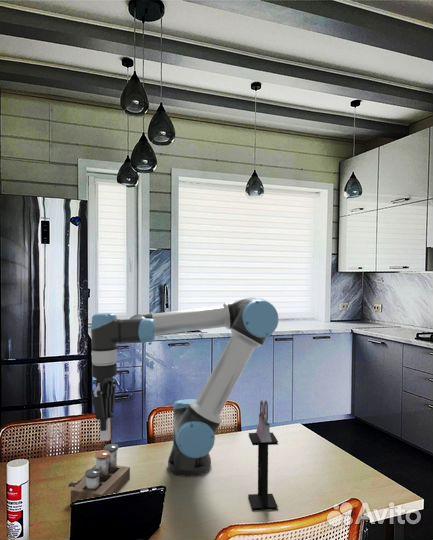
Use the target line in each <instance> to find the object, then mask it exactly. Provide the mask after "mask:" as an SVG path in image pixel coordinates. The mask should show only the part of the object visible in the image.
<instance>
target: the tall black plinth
mask: <svg viewBox="0 0 433 540" xmlns="http://www.w3.org/2000/svg"><path fill="white" fill-rule="evenodd" d="M268 420H269V404H268V401H267V400H260V402H259V413H258V423H257V427H256V432H248V438H249V440H250V442H251V445H252V446H257V493H252V494H251V493H250V494H249V493H248V494H247V496H248V497H247V498H248V501H249V505H250V508H251V510H252V512H253V511H278V510H279V509H278V508H279V506H278V503H277V502H276V499H275V497H274V495H273V493H269V446H272V445H273V446H276V445H277V446H278V445H279V441H278V439H277V437H276V436H275V434H274V432H271V431H270V429H271V428H270V426H271V425H270V423H269V422H268Z"/></svg>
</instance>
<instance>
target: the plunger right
mask: <svg viewBox="0 0 433 540" xmlns="http://www.w3.org/2000/svg"><path fill="white" fill-rule="evenodd" d="M118 450H119V445H118V444H116V443H108V444H105V445H104V446H103V451H109V452H110V456H109V457H108V473H110V474H111V473H115V472H116V471H117V466H118V465H117V464H118V462H117V461H118Z"/></svg>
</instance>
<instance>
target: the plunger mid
mask: <svg viewBox="0 0 433 540" xmlns="http://www.w3.org/2000/svg"><path fill="white" fill-rule="evenodd" d="M109 456H110V452H109V451H104V450H100V451H96V452H95V454H94V457H95V459H96V461H95V462H96V464H95V465H96V468H98V469H100V470H101V474H100V475H99V481H100V482H103V481H106V480H108V457H109Z"/></svg>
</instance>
